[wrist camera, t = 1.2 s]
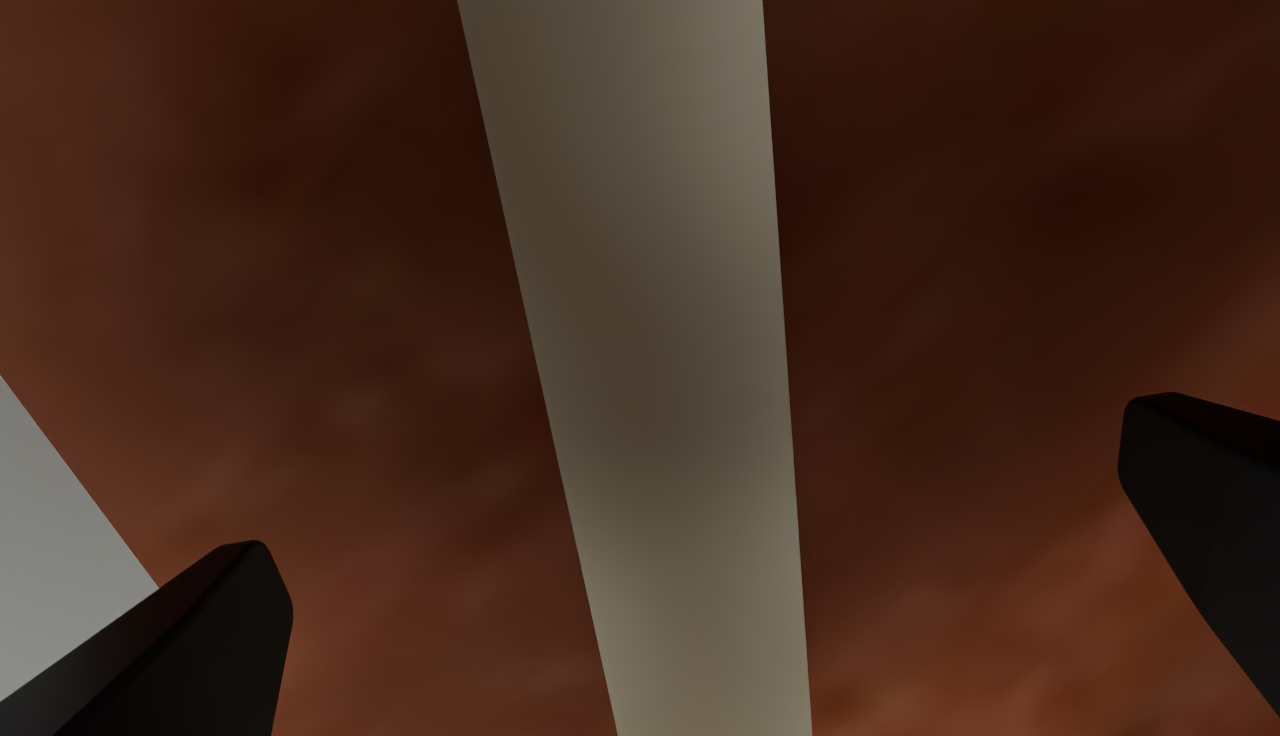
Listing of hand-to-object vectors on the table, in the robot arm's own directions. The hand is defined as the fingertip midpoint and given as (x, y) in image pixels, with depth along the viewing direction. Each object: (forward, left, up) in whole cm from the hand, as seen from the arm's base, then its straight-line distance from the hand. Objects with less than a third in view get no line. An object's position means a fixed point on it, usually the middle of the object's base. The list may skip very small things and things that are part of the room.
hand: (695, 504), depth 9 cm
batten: (0, 0, -6) cm, 6 cm away
